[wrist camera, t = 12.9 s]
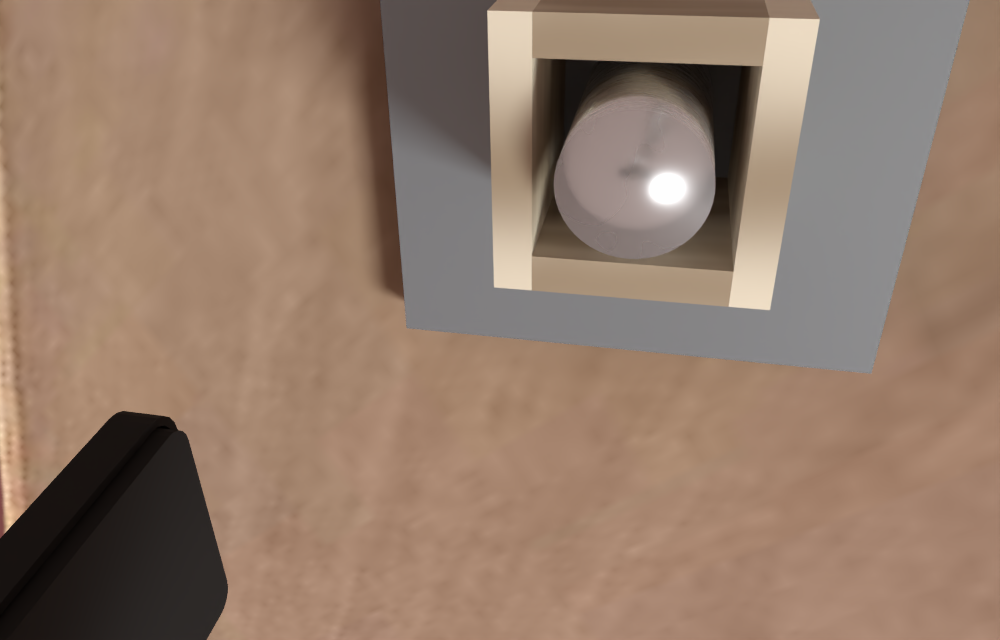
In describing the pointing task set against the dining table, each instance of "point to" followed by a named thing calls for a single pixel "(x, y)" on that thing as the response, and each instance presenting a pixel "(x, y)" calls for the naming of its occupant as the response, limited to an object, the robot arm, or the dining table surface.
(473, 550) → the dining table surface
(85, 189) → the dining table surface
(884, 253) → the grey board
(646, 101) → the grey cylinder
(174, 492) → the robot arm
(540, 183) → the birch collar
